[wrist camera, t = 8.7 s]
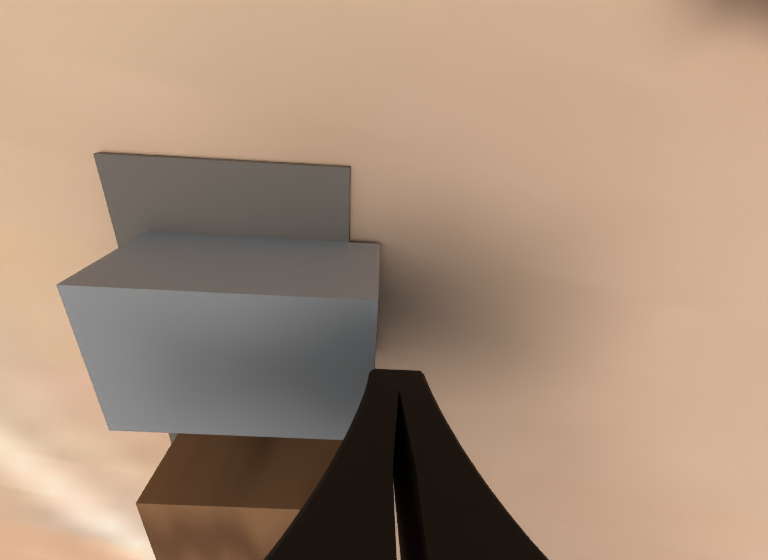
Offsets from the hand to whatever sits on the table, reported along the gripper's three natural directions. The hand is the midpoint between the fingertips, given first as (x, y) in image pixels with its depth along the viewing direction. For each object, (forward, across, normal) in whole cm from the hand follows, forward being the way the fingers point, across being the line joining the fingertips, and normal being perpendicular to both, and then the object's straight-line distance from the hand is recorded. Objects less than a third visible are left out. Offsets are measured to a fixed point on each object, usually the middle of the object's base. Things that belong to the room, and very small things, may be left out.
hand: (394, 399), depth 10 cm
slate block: (+3, +1, 0) cm, 3 cm away
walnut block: (+3, +1, +8) cm, 9 cm away
